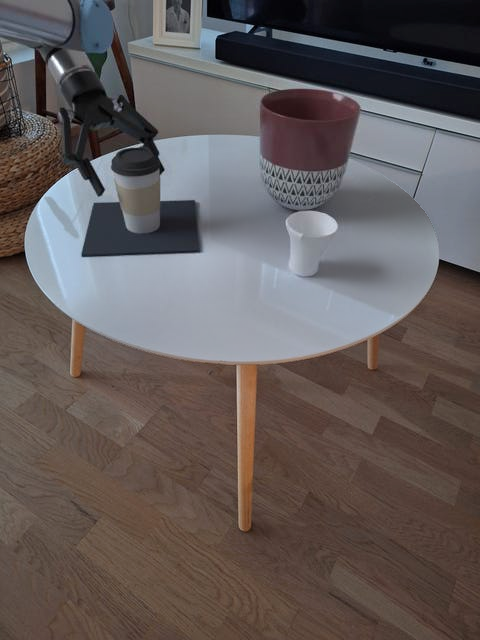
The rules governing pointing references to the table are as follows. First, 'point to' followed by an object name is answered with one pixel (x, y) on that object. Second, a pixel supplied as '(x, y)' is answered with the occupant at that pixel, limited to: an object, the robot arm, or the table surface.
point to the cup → (308, 240)
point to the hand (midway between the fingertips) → (132, 183)
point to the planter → (305, 144)
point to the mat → (115, 239)
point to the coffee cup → (138, 188)
